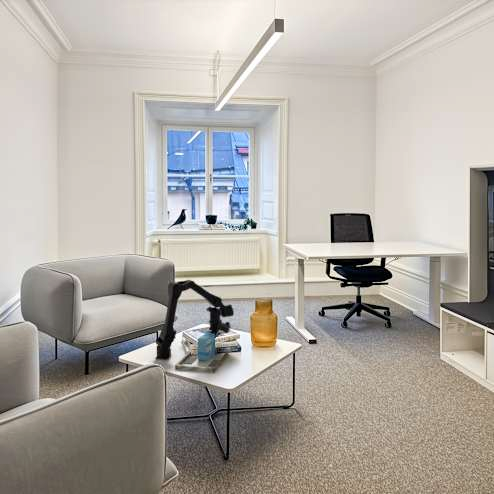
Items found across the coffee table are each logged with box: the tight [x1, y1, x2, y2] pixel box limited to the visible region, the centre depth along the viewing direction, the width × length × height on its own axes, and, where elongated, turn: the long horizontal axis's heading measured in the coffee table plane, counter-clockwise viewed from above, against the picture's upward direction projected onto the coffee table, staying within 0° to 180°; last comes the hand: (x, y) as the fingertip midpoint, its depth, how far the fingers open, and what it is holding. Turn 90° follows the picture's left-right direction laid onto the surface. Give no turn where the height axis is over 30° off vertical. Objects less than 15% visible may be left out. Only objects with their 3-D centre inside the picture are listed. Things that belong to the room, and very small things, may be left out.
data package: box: [197, 332, 216, 362], centre depth 245 cm, size 12×4×12 cm, turn 159°
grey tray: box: [174, 350, 229, 374], centre depth 239 cm, size 20×26×2 cm
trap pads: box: [183, 356, 220, 367], centre depth 239 cm, size 17×9×1 cm, turn 77°
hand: (214, 345), depth 260 cm, fingers closed
